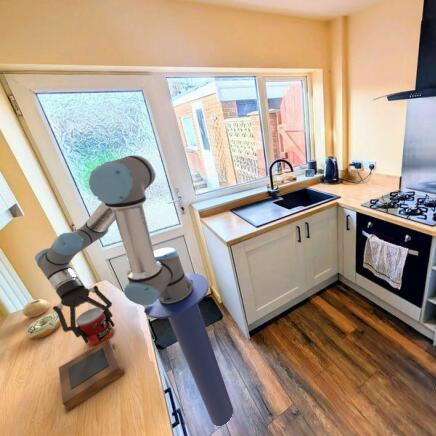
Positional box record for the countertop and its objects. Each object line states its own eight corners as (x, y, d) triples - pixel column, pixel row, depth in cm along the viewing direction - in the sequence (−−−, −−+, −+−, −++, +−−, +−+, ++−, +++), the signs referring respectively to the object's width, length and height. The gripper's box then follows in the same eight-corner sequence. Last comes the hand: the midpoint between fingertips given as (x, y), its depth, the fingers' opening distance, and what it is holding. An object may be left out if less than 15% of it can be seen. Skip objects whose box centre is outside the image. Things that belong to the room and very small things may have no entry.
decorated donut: (26, 345, 93) (21, 338, 92) (33, 327, 101) (28, 320, 100) (61, 330, 98) (56, 323, 97) (64, 314, 107) (60, 308, 105)
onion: (31, 322, 104) (22, 309, 101) (24, 316, 108) (15, 304, 105) (54, 309, 111) (46, 297, 108) (47, 304, 114) (39, 292, 111)
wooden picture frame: (112, 345, 89) (108, 338, 88) (123, 373, 78) (119, 366, 77) (63, 374, 80) (58, 367, 79) (68, 410, 70) (62, 403, 68)
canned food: (105, 344, 90) (92, 322, 85) (84, 346, 90) (69, 324, 85) (118, 327, 97) (106, 306, 92) (98, 329, 97) (86, 308, 92)
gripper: (99, 273, 102) (130, 317, 100) (33, 304, 88) (67, 357, 85) (98, 266, 97) (130, 312, 94) (28, 298, 82) (64, 354, 80)
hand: (100, 333), depth 90 cm, fingers closed on canned food, 8 cm apart
